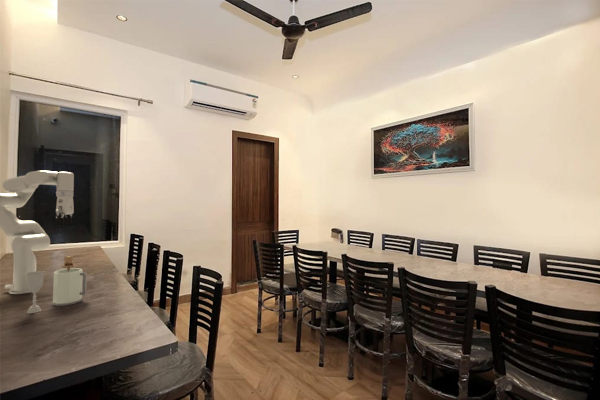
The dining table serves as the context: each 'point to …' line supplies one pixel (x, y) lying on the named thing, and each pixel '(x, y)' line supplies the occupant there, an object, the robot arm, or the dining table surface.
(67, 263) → the plunger
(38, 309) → the chalice
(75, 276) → the press carafe
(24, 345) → the dining table surface
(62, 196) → the robot arm
